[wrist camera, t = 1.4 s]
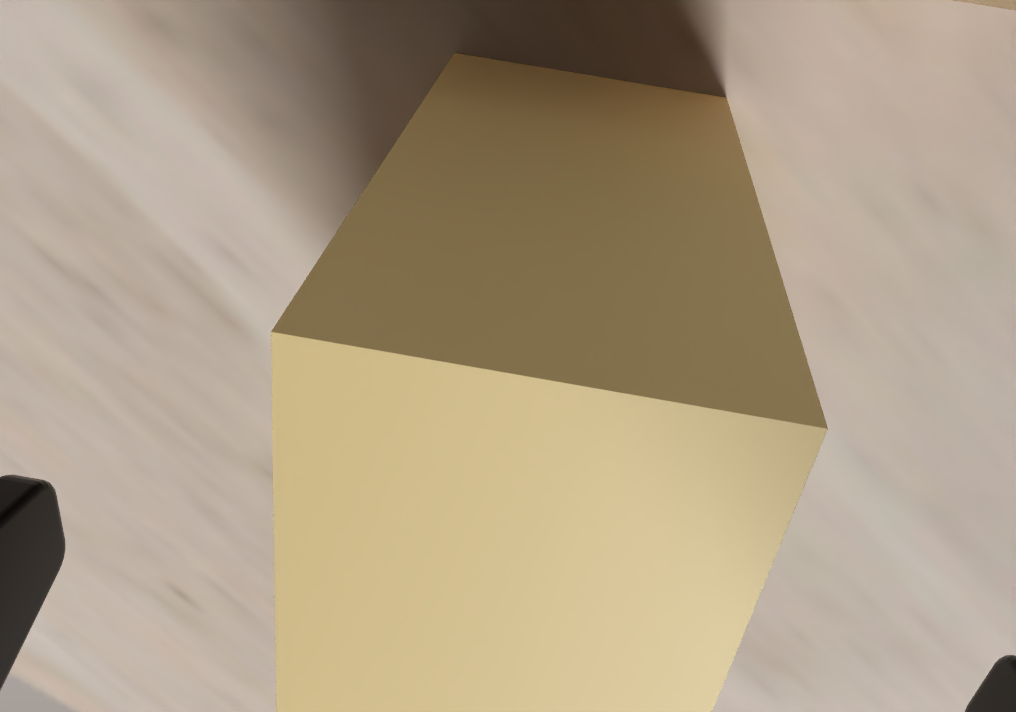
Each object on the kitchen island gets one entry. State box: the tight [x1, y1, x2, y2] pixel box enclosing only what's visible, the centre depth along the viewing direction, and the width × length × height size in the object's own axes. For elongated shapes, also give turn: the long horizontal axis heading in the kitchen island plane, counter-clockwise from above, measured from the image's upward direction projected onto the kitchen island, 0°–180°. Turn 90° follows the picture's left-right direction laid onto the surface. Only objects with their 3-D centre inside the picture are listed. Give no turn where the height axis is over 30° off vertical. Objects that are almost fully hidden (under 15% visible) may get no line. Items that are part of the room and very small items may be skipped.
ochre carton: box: [271, 53, 828, 712], centre depth 11 cm, size 4×6×8 cm
